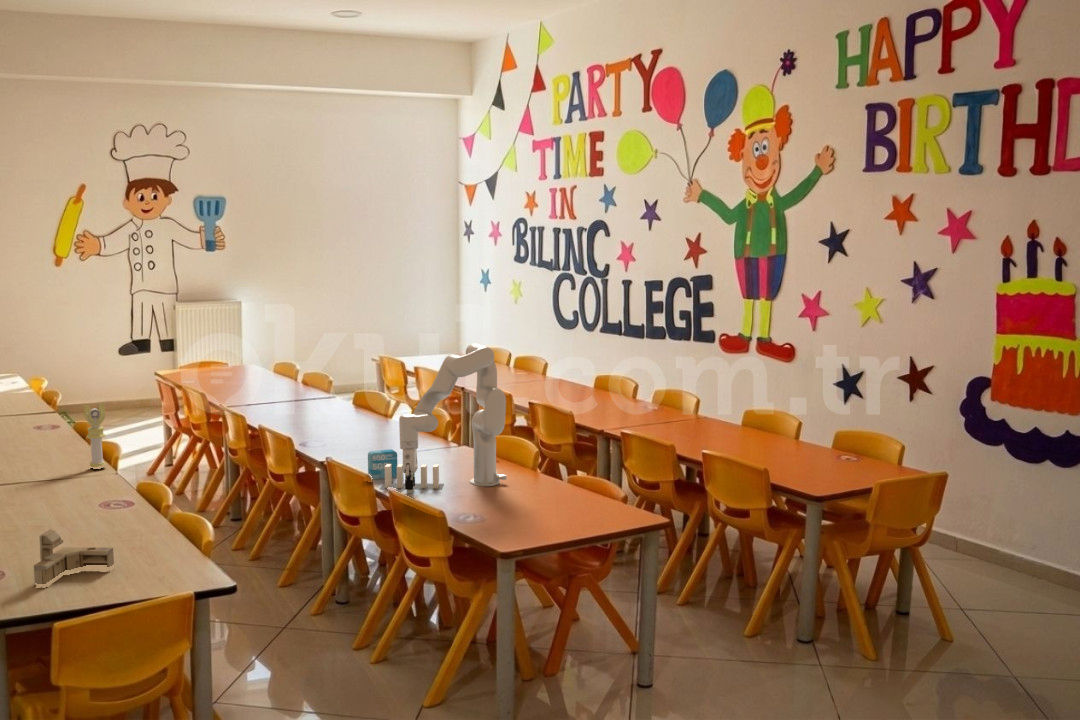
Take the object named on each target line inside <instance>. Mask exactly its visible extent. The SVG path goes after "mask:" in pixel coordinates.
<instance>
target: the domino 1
mask: <svg viewBox="0 0 1080 720" xmlns="http://www.w3.org/2000/svg"><path fill="white" fill-rule="evenodd" d="M392 478H393V477H392V469H391V464H386V466H385V478H384V483H385V488H388V487H391V485H392V482H393V480H392Z"/></svg>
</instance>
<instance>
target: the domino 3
mask: <svg viewBox="0 0 1080 720" xmlns="http://www.w3.org/2000/svg"><path fill="white" fill-rule="evenodd" d="M409 473H411V471H409ZM409 475H410V476H411V474H409ZM412 480H413V472H412ZM413 491H415V490H414V489H413V490H406V493H407V494H412V493H413Z"/></svg>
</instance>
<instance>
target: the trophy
mask: <svg viewBox="0 0 1080 720" xmlns="http://www.w3.org/2000/svg"><path fill="white" fill-rule="evenodd" d="M105 405H106V403H105V402H104V401H103V402H101V403H99V404H98V408H91V406H90V405H87V404H86V403H83V411H84V412H83V413H84V418H85V420H86V421H87V423H88V424H89V425H90V427H87V428H86V430H87V431H88V432H87V433H88V434H87V435H86V438H87V439H90V450H91V462H90V464H89V465H90V466H91V467H98V466H103V465H105V464H106V461H104V458H103V457H104V455H103V442H102V441H103V438H106V434H105V433H104V430H105V427H104V426H101V424H102V423H103V422H104V420H105V418H106V406H105Z"/></svg>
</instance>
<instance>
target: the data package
mask: <svg viewBox="0 0 1080 720" xmlns="http://www.w3.org/2000/svg"><path fill="white" fill-rule="evenodd" d="M386 464H391V469H392V478H397V466H398V452H397V451H395V450H394V449H380V450H371V451H369V452H368V453H367V475H368V474H370V475H371V476H372V478H373V479H372V480H381V479H385V466H386Z"/></svg>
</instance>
